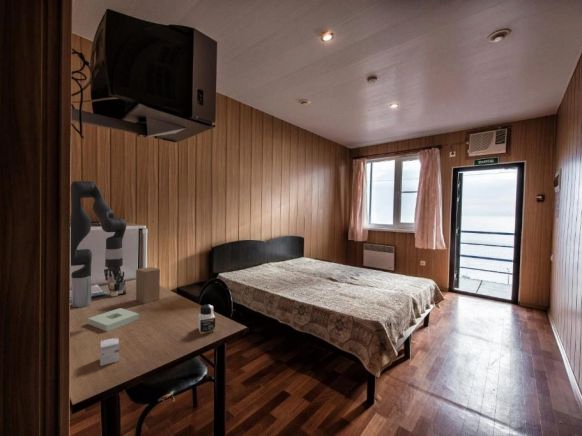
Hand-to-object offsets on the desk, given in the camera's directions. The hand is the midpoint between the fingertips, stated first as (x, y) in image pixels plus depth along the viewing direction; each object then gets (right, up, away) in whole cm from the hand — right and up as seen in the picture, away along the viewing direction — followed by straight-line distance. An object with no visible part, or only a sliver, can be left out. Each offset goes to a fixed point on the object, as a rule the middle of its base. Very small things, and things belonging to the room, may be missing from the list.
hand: (114, 289), depth 138 cm
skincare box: (+20, -19, -33) cm, 43 cm away
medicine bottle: (+49, -19, -5) cm, 53 cm away
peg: (0, -3, 0) cm, 3 cm away
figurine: (-26, -14, +42) cm, 51 cm away
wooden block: (0, -16, +33) cm, 36 cm away
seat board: (-1, -17, +1) cm, 17 cm away
